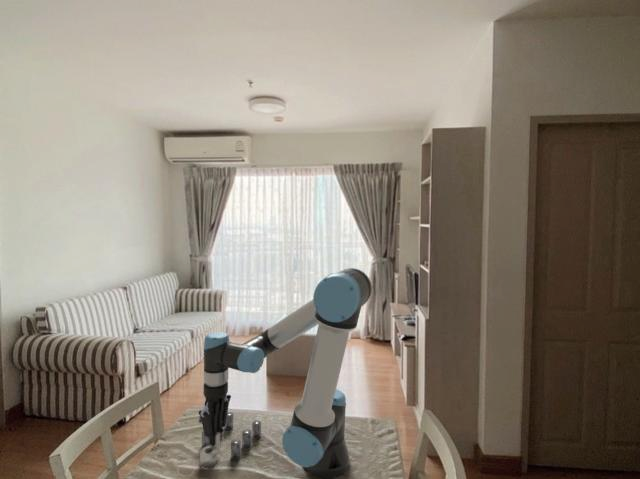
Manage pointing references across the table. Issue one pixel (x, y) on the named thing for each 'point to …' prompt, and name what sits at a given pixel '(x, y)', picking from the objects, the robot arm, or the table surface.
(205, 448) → the silver metal cylinder
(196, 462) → the table surface
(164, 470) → the table surface
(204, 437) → the spacer field
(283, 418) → the table surface
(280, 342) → the robot arm
